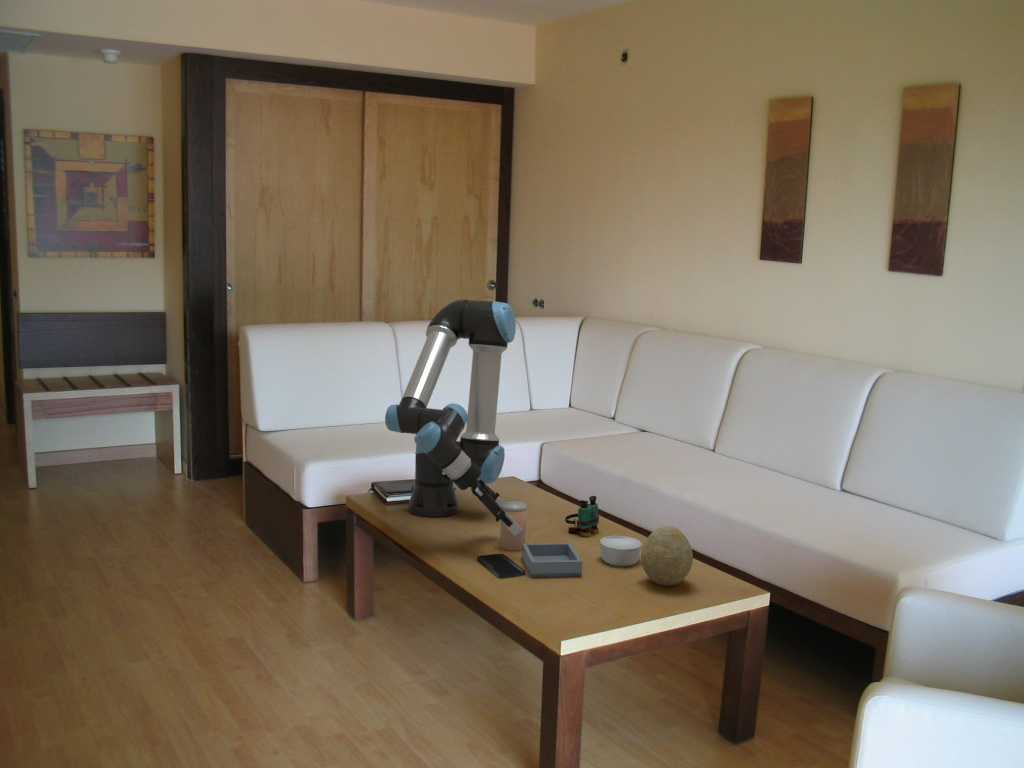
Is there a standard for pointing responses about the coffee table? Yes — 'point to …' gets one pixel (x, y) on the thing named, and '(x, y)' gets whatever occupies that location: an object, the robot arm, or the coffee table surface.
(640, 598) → the coffee table surface
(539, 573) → the tray
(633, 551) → the ramekin
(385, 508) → the coffee table surface
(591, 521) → the binoculars
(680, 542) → the fossilized egg
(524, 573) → the phone
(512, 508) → the beige round cylinder
